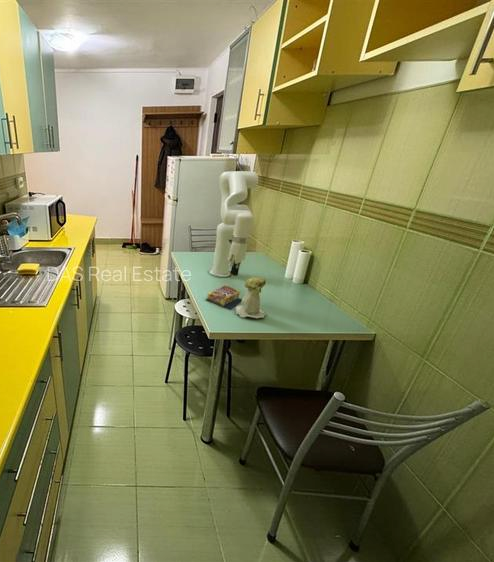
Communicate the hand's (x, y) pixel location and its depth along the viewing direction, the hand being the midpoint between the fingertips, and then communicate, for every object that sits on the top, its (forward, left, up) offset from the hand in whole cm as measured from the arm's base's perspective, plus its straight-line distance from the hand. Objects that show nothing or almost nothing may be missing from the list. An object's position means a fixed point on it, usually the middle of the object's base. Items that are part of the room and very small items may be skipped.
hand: (233, 274), depth 153 cm
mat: (+5, 0, -13) cm, 14 cm away
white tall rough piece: (+9, +15, -13) cm, 22 cm away
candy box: (-3, 0, -10) cm, 10 cm away
